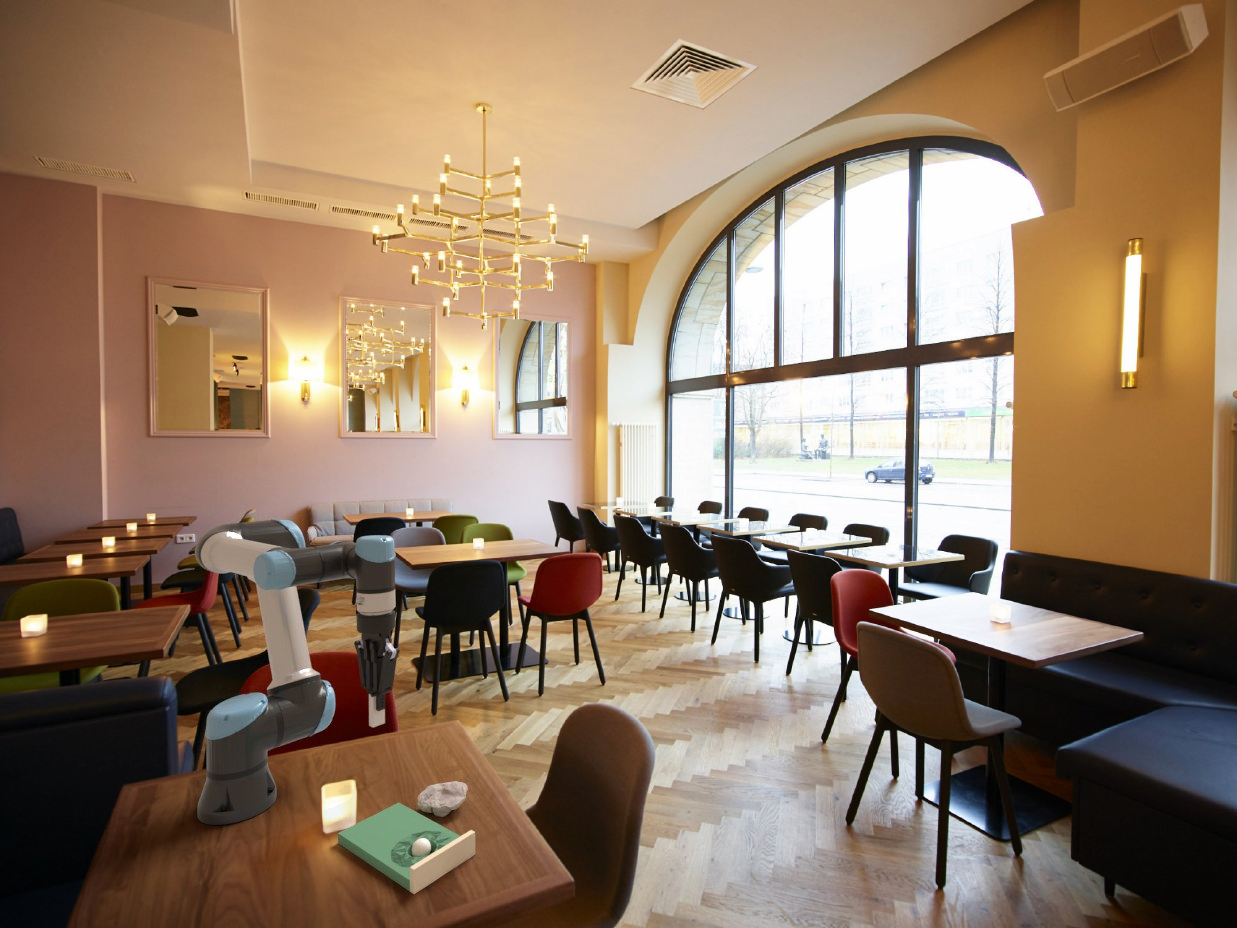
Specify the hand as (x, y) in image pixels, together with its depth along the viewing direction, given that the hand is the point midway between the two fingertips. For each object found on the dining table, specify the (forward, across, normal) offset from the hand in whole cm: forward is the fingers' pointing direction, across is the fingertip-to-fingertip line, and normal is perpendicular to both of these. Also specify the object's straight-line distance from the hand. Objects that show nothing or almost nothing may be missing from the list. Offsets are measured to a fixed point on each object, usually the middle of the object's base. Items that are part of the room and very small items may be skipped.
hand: (377, 724), depth 130 cm
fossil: (+23, +4, +14) cm, 27 cm away
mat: (+22, +9, 0) cm, 24 cm away
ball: (+21, +15, 0) cm, 25 cm away
